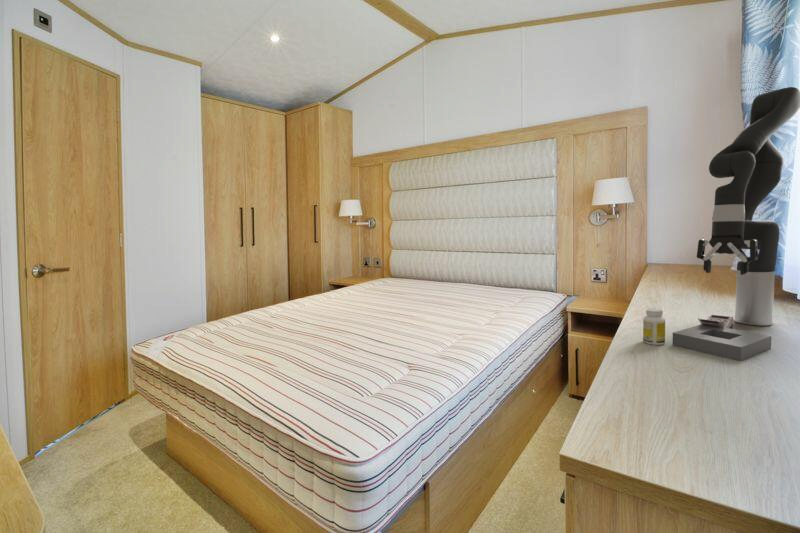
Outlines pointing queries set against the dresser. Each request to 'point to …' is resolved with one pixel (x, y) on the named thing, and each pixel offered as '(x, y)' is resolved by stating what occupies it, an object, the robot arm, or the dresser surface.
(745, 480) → the dresser surface
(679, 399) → the dresser surface
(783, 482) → the dresser surface
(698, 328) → the socket block
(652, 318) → the supplement bottle
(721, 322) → the mobile phone
